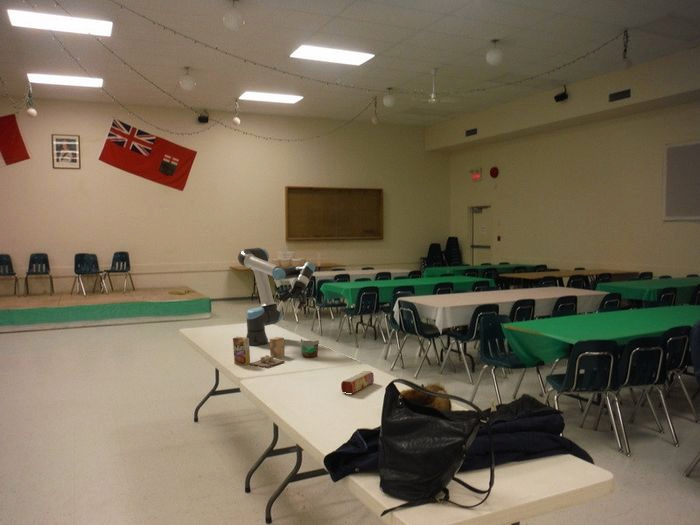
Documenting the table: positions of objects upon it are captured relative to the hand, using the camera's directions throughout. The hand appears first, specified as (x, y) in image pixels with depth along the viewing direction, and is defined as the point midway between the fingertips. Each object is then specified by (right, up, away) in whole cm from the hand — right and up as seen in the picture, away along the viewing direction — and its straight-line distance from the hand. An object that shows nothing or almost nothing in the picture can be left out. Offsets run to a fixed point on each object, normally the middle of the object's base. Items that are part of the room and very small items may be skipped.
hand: (286, 311), depth 338 cm
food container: (+14, -26, -12) cm, 32 cm away
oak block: (-5, -26, -7) cm, 28 cm away
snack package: (+43, -30, -76) cm, 92 cm away
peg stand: (-8, -28, -24) cm, 38 cm away
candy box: (-23, -28, -22) cm, 42 cm away
